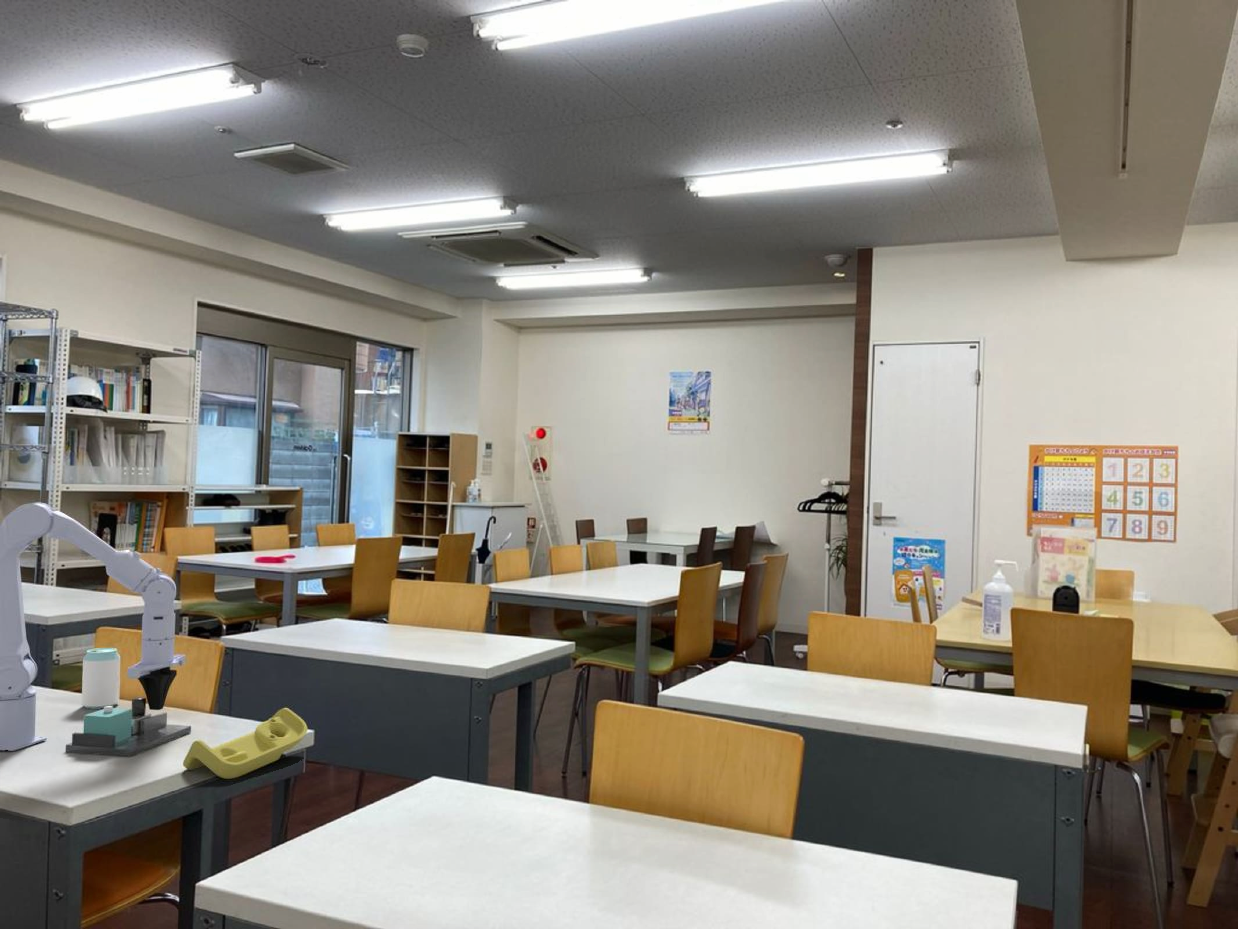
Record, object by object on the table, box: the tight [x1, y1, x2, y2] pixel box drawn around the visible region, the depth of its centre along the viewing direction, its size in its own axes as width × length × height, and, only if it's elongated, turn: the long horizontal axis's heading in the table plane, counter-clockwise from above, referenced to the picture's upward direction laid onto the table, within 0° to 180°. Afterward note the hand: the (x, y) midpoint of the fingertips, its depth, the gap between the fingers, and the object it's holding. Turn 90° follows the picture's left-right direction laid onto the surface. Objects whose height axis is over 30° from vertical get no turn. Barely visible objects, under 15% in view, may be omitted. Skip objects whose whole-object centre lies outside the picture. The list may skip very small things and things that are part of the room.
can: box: [81, 647, 121, 710], centre depth 204 cm, size 7×7×12 cm
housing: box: [83, 706, 132, 743], centre depth 173 cm, size 5×6×6 cm
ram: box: [131, 696, 152, 734], centre depth 179 cm, size 4×5×6 cm
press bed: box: [65, 712, 192, 757], centre depth 176 cm, size 13×17×4 cm
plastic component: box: [182, 707, 308, 780], centre depth 165 cm, size 20×7×10 cm
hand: (156, 709), depth 183 cm, fingers closed
